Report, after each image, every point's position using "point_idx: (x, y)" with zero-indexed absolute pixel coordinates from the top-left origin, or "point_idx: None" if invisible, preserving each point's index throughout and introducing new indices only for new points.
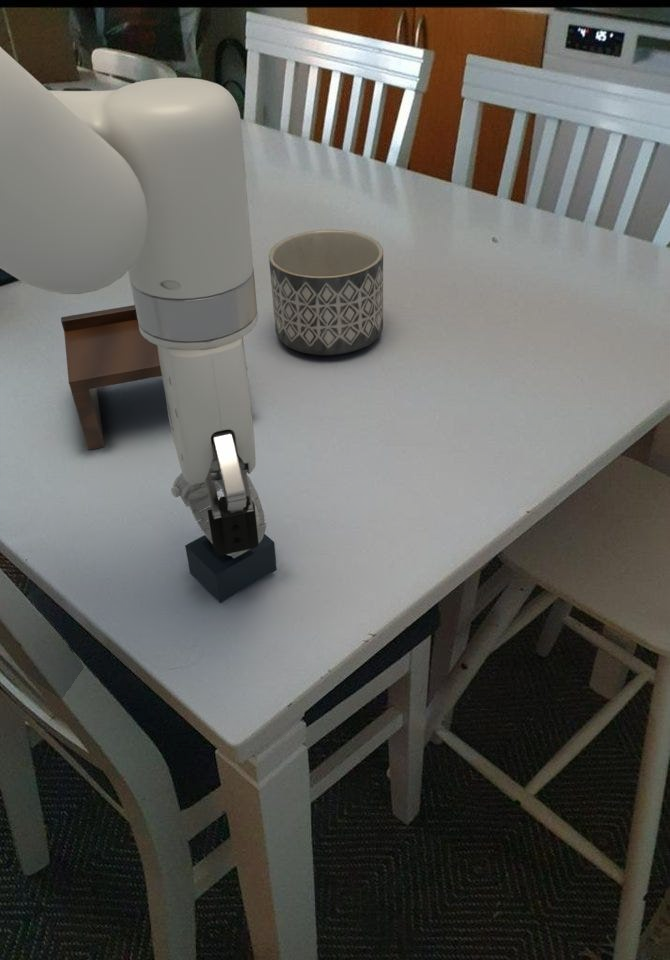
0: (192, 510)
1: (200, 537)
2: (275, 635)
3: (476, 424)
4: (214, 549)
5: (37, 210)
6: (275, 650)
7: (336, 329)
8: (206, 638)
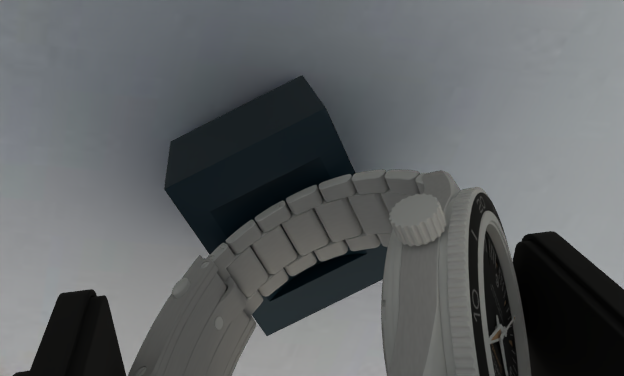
0: (416, 180)
1: (347, 156)
2: (64, 243)
3: None
4: (53, 311)
5: None
6: (16, 239)
7: None
8: (76, 86)
